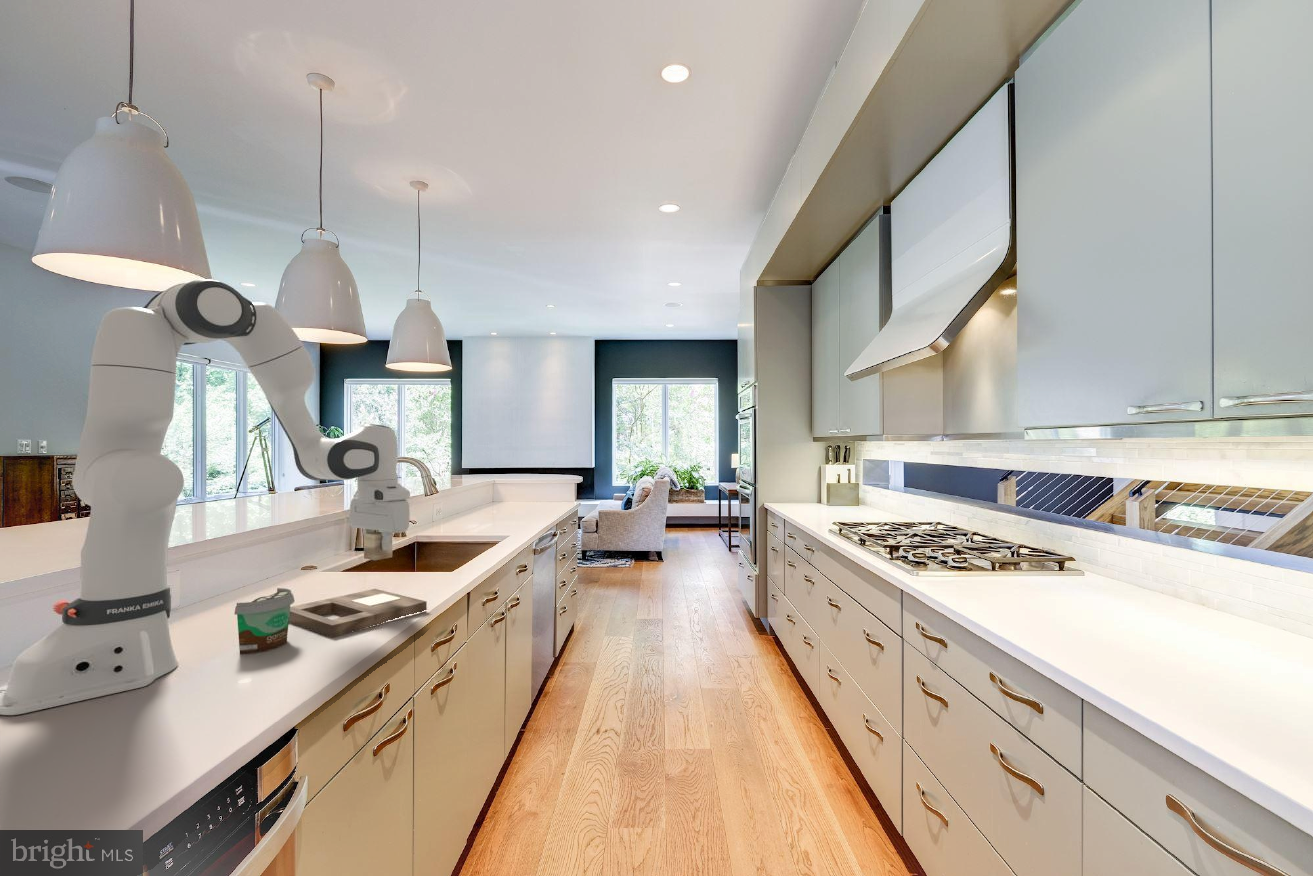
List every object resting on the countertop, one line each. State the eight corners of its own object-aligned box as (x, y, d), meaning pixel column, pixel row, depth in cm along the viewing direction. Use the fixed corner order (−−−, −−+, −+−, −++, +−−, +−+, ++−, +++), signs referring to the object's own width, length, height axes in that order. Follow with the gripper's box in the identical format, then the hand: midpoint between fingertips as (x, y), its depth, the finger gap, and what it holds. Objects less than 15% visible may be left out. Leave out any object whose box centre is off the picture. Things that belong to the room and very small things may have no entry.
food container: (265, 657, 107) (266, 603, 107) (233, 657, 107) (234, 603, 107) (307, 635, 119) (308, 587, 119) (278, 635, 119) (279, 587, 119)
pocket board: (332, 637, 118) (332, 624, 118) (282, 619, 130) (282, 607, 130) (426, 611, 136) (426, 600, 136) (375, 598, 148) (375, 588, 148)
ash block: (374, 560, 134) (374, 535, 134) (364, 558, 137) (363, 533, 137) (392, 557, 138) (392, 532, 138) (381, 555, 141) (381, 530, 141)
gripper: (342, 490, 141) (342, 546, 141) (389, 494, 129) (389, 555, 129) (366, 488, 146) (366, 542, 146) (414, 492, 135) (414, 550, 135)
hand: (378, 548), depth 137 cm, fingers closed on ash block, 4 cm apart
